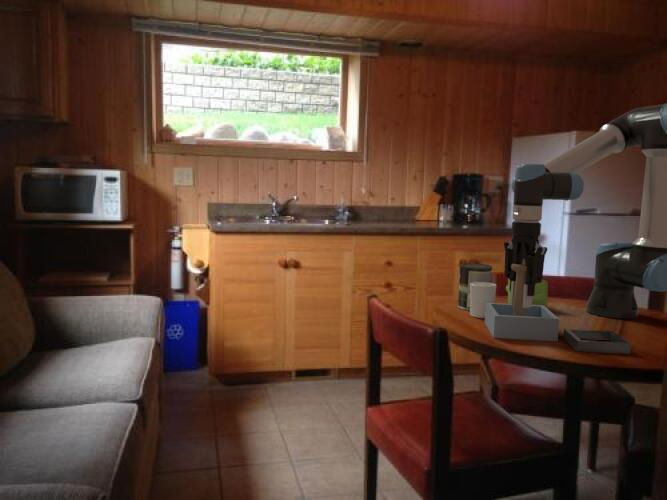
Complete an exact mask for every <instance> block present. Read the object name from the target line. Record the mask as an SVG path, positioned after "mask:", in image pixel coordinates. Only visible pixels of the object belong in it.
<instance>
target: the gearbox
mask: <svg viewBox="0 0 667 500" xmlns="http://www.w3.org/2000/svg"><path fill="white" fill-rule="evenodd" d="M531 280H532V279H531ZM548 284H549V282H548V281H547V280H545V279H542V282H541V283H537V284H535V293H534V296H532V305H542V306H545V307H546V308H547V309H548V298H549V297H548V295H549V292H548V291H549V288H548V287H549V285H548ZM505 291H506V292H507V304H510V297H511V292H510V280H509V278H508V279H507V285H506V287H505Z"/></svg>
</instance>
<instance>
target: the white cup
mask: <svg viewBox="0 0 667 500" xmlns="http://www.w3.org/2000/svg"><path fill="white" fill-rule="evenodd" d="M496 291H497V284H496V283H493V282H491V283H488V282H471V283H470V311H469V316H470V317H474V318H479V319H485V309H486V303H495V299H496Z"/></svg>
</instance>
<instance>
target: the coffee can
mask: <svg viewBox="0 0 667 500" xmlns="http://www.w3.org/2000/svg"><path fill="white" fill-rule="evenodd" d="M492 270H493V266H492V265H490V264H486V263H476V262H475V263H473V262H472V263H471V262H468V263H467V262H465V263H461V264H459V279H458V295H457V296H458V299H457V308H458V309H461V310H464V311H469V312H470V283H471V282H488V283H492Z"/></svg>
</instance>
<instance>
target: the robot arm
mask: <svg viewBox="0 0 667 500" xmlns="http://www.w3.org/2000/svg"><path fill="white" fill-rule="evenodd" d="M637 147H641V150H640V151H641V152H642V154H643V155H644V156H645V157H646V159H645V169H644V170H645V171H644V177H643V187H642V197H641V198H642V199H641V208H640V218H639V219H640V220H639V225H638V227H639V228H638V237H637V238H636V239H635V240H634V241H632V242H602V243H600V244H599V245H598V246H597V248H596V249H597V250H596V254H595V263H594V264H595V268H594V281H593V282H594V283H593V289H592V291H591V294H590V296H589V297H588V300H587V301H586V306H585V311H586V312H587V313H589V314H591V313H592V315H595V316H599V315H600V317H604V318H611V319H612V318H613V319H635V318H638V316H639V306H638V303H637V298H636V295H635V287H636V288H641V289H645V290H647V291H651V292H652V291H653V292H662V293H663V292H667V102H666V103H660V104H655V105H654V104H653V105H649V106H647V105H646V106H640V107H637V108H634V109H632V110H628V111H627V112H625V113H623V114H621V115H620V116H618V117H616V118H615V119H612V120H611V121H609V122H607V123H605V124H604V125H602V126H601V127H600V128H599V131H597V132H596V133H595V134H593V135H591V136H590V137H587V138H586V139H584V140H582V141H581V142H579V143H578V144H575V145H573V146H572V147H570V148H568V149H567V150H565V151H563V152H562V153H560V154H559V155H556V156H555V157H553V158H552V159H550V160H549V161H546V162H545V163H520V164H518V165H517V166H516V168H515V174H514V177H513V178H512V181H511V189H512V191H513V192H512V193H513V206H512V220H514V221H512V222H511V235H513V236H512V237H511V240H510V241H505V242H504V243H503V247H504V273H503V274H504V277H505V278H508V279H509V280H510V292H511V297H510V304H512V305H513V300H514V291H515V283H516V272H515V271H514V270H512V268H511V265H512V264H523V261H524V264H525V266H527V271H526V280H527V282H525V284H524V293H523V308H529V307H532V296H534V293H535V284H537V283H541V282H542V280H543V276H544V266H545V257H546V254H547V251H548V247H547V246H542V245H541V244H540V240H539V237H540V236H541V230H542V224H541V222H540V221H542V220H543V219H542V218H543V217H542V215H543V205H544V204H543V203H544V200H550V201H551V200H555V201H575V200H577V199H579V198H580V197H581V196H582V194H583V192H584V188H585V183H584V179H583V176H581V175H580V174H579V173H580V172H582V171H583V170H585V169H587V168H589V167H591V166H592V165H593V164H596V163H597V162H599V161H601V160H603V159H604V158H606V157H608V156H610V155H611V154H618V153H621V152H623V151H624V150H627V149H631V148H637ZM531 279H532V280H531Z"/></svg>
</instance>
